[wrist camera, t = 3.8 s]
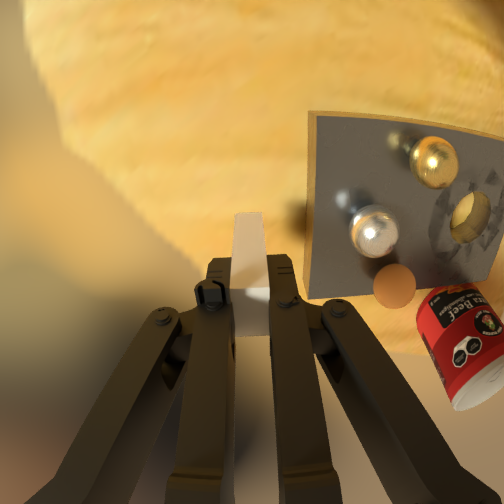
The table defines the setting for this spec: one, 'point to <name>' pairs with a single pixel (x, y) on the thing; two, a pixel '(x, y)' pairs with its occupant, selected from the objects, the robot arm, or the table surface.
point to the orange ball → (394, 286)
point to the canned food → (463, 343)
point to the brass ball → (434, 162)
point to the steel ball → (374, 231)
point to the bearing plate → (397, 203)
